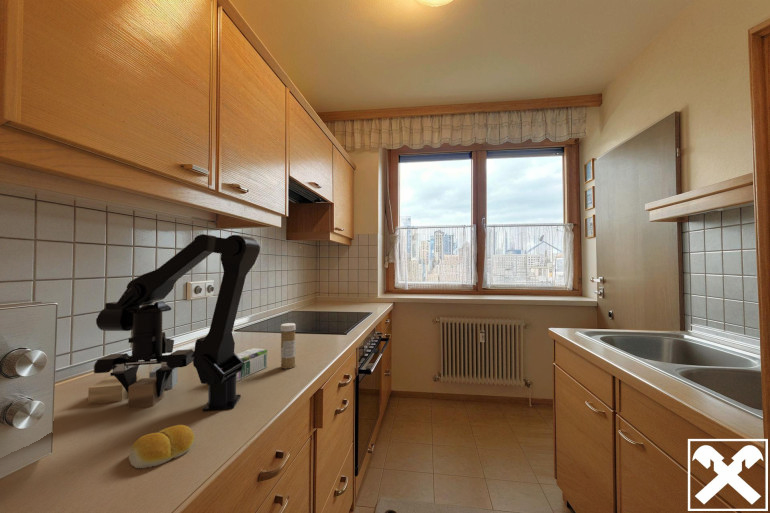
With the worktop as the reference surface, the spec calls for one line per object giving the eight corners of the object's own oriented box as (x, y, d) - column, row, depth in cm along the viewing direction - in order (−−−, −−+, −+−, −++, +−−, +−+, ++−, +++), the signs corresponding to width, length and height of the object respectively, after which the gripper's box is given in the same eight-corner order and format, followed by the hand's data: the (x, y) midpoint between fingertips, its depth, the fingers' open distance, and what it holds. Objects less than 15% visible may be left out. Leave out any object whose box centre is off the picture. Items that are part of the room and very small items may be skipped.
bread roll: (202, 448, 54) (202, 425, 54) (139, 477, 47) (140, 450, 47) (182, 433, 59) (182, 412, 59) (122, 458, 52) (123, 433, 52)
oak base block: (122, 401, 74) (122, 385, 74) (88, 404, 72) (88, 387, 73) (139, 390, 81) (139, 375, 81) (108, 392, 79) (108, 377, 79)
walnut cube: (153, 406, 71) (153, 384, 71) (128, 408, 70) (128, 386, 70) (164, 397, 76) (164, 376, 76) (141, 399, 75) (141, 378, 75)
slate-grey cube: (172, 389, 81) (172, 369, 81) (149, 392, 79) (149, 372, 79) (177, 382, 85) (177, 364, 86) (155, 385, 84) (155, 366, 84)
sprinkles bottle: (282, 364, 99) (282, 322, 100) (297, 364, 100) (296, 322, 100) (279, 369, 95) (279, 325, 95) (294, 368, 95) (294, 325, 95)
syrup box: (267, 367, 97) (231, 384, 83) (252, 365, 99) (214, 382, 85) (267, 349, 97) (231, 363, 83) (252, 347, 99) (214, 361, 85)
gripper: (203, 322, 83) (203, 381, 82) (124, 326, 79) (123, 387, 79) (185, 331, 72) (184, 398, 71) (92, 336, 68) (91, 407, 68)
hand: (147, 397), depth 73 cm, fingers closed on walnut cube, 5 cm apart
